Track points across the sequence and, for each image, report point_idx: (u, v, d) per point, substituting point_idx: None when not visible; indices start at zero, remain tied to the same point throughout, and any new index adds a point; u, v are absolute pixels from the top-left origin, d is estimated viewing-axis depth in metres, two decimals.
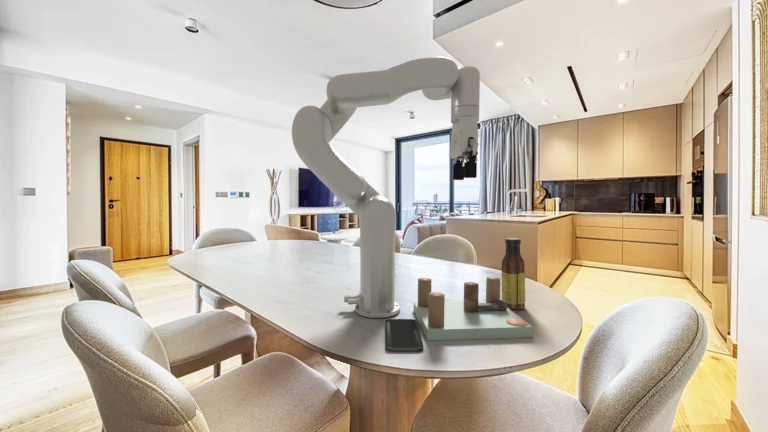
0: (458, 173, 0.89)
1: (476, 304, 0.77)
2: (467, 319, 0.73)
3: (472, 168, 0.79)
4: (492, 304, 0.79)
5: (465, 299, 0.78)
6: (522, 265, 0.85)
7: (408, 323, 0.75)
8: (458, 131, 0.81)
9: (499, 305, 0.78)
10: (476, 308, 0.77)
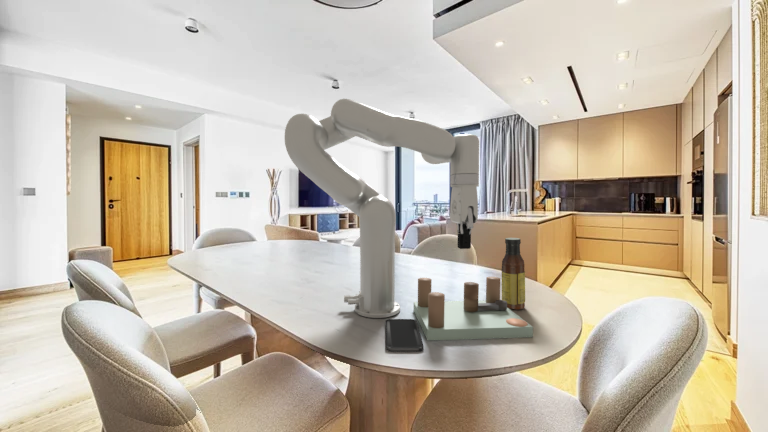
0: None
1: (476, 304, 0.77)
2: (467, 319, 0.73)
3: (466, 240, 0.83)
4: (492, 304, 0.79)
5: (465, 299, 0.78)
6: (522, 265, 0.85)
7: (407, 323, 0.75)
8: (458, 199, 0.81)
9: (499, 305, 0.78)
10: (476, 308, 0.77)
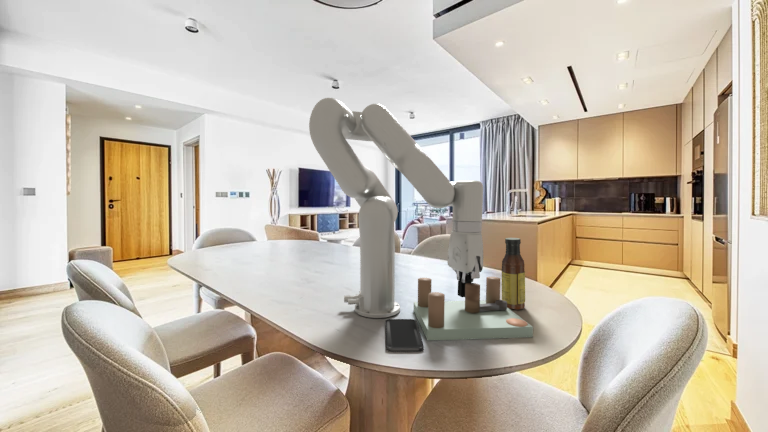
0: None
1: (478, 305, 0.76)
2: (467, 319, 0.73)
3: None
4: (492, 304, 0.79)
5: (467, 300, 0.77)
6: (522, 265, 0.85)
7: (407, 323, 0.75)
8: (464, 248, 0.77)
9: (500, 305, 0.78)
10: (478, 309, 0.76)
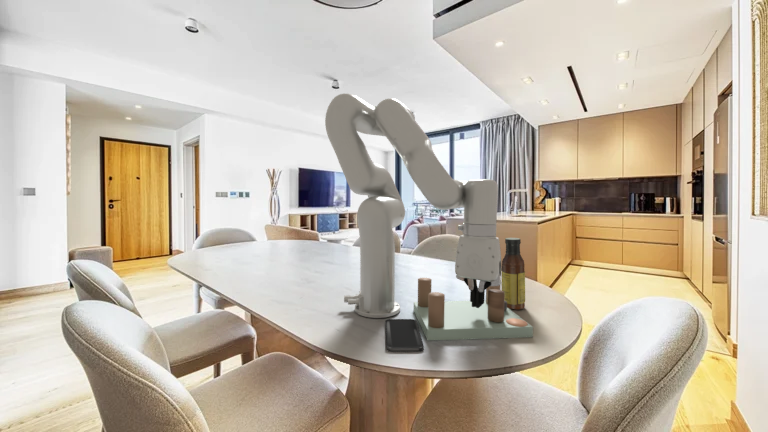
0: None
1: None
2: (467, 319, 0.73)
3: (483, 297, 0.74)
4: None
5: (497, 310, 0.70)
6: (522, 265, 0.85)
7: (407, 323, 0.75)
8: (487, 254, 0.70)
9: (504, 305, 0.78)
10: None
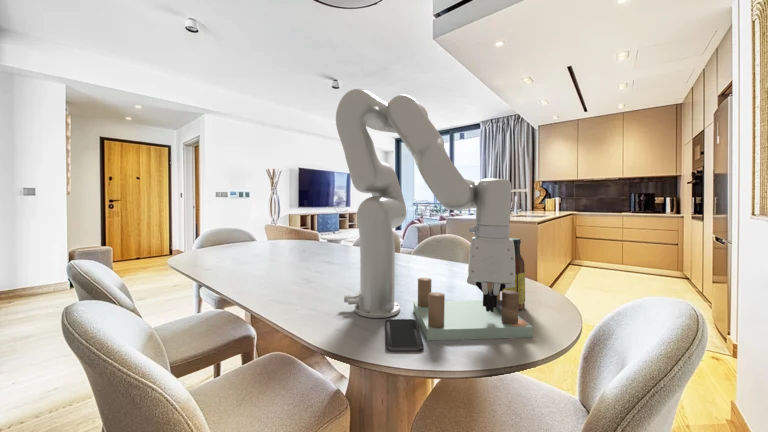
0: None
1: None
2: (467, 319, 0.73)
3: None
4: None
5: (514, 311, 0.69)
6: (522, 265, 0.85)
7: (407, 323, 0.75)
8: (506, 255, 0.68)
9: None
10: None
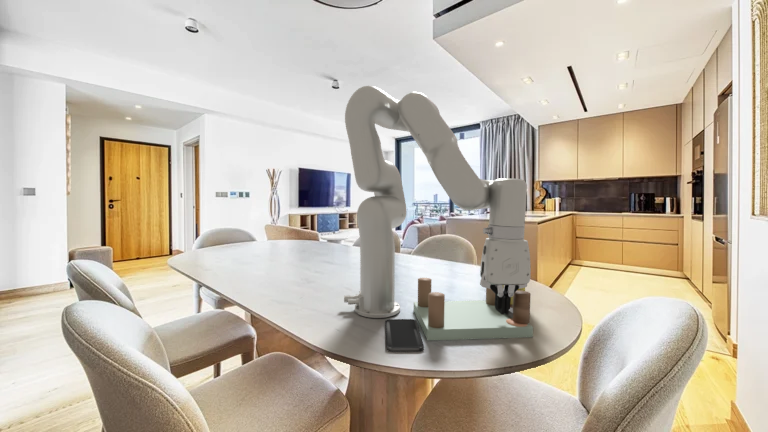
0: None
1: None
2: (467, 319, 0.73)
3: None
4: None
5: (528, 311, 0.70)
6: None
7: (407, 323, 0.75)
8: (523, 256, 0.68)
9: None
10: None
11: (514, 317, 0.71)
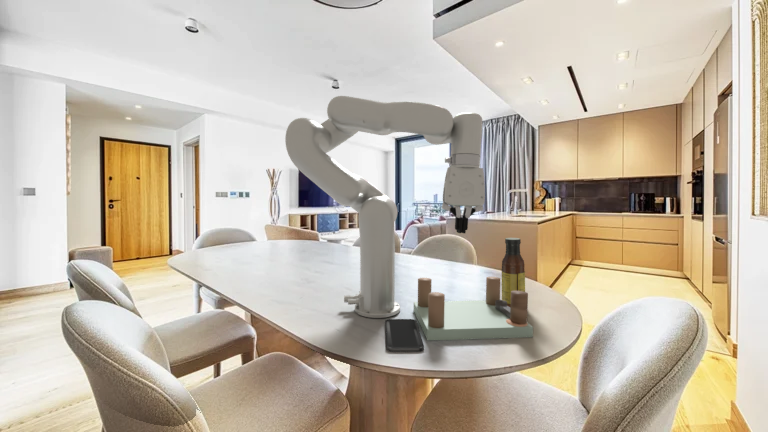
0: None
1: None
2: (467, 319, 0.73)
3: None
4: (506, 307, 0.77)
5: (525, 311, 0.70)
6: (522, 265, 0.85)
7: (407, 323, 0.75)
8: (478, 181, 0.78)
9: (506, 305, 0.78)
10: None
11: (511, 317, 0.71)
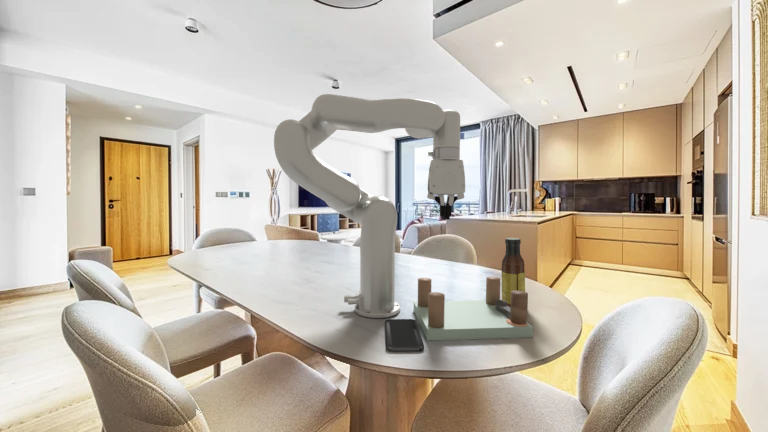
0: None
1: None
2: (467, 319, 0.73)
3: None
4: (506, 307, 0.77)
5: (525, 311, 0.70)
6: (522, 265, 0.85)
7: (407, 323, 0.75)
8: (459, 171, 0.86)
9: (506, 305, 0.78)
10: None
11: (511, 317, 0.71)
